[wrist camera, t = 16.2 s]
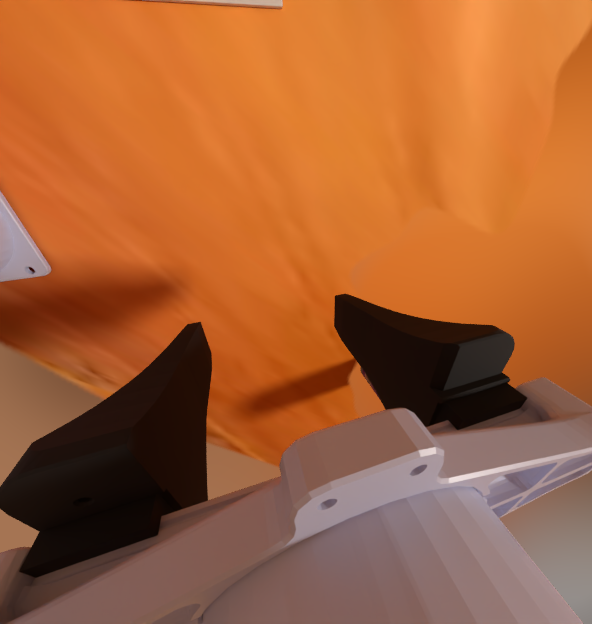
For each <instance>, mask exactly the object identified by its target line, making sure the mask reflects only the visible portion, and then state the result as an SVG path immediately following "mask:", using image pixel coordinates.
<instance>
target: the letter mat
mask: <svg viewBox="0 0 592 624" xmlns="http://www.w3.org/2000/svg"><path fill="white" fill-rule="evenodd" d="M144 1H161V2H177V3H194V4H210V5H227V6H244V7H260V8H277V9H282V7H283V4H282V0H144Z"/></svg>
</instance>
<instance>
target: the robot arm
mask: <svg viewBox="0 0 592 624" xmlns="http://www.w3.org/2000/svg"><path fill="white" fill-rule="evenodd" d="M29 267H31V268H33V269H34V270H35V272H33V271H31V270H30V269H29ZM50 272H51V267H50V265H49V264H48V262H47V261H46V259H45V258H44V256H43V255H42V253H41V252H40V250H39V249H38V247H37V246H36V244H35V243H34V241H33V240H32V238H31V237H30V235H29V234H28V232H27V231H26V229H25V227H24V226H23V224H22V223H21V221H20V220H19V218H18V217H17V215H16V214H15V212H14V211H13V209H12V208H11V206H10V205H9V203H8V202H7V200H6V199H5V197H4V196H3V194H2V193H1V191H0V282H3V281H10V280H17V279H25V278H32V277H39V276H45V275H47V274H49V273H50ZM334 326H335V328H336V330H337V332H338V334H339V336H340V338H341V340H342V341H343V343H344V344H345V345H346V347H347V348H348V350H349V351H350V352H351V354H352V355H353V356H354V358H355V359H356V360H357V362H358V363H359V364H360V366H361V367H362V369H363V370H364V372H365V373H366V375H367V376H368V378H369V380H370V382H371V383H372V385H373V387H374V389H375V390H376V392H377V394H378V396H379V398H380V400H381V402H382V403H383V405H384V407H385V409H386V410H384V411H380V412H377V413H374V414H371V415H367V416H365V417H361V418H358V419H354V420H351V421H348V422H345V423H341V424H338V425H335V426H332V427H328V428H325V429H322V430H319V431H315V432H312V433H310V434H308V435H306V436H304V437H302V438H300V439H298V440H296V441H295V442H294V443H293V444H292V445H291V446H290V447H288V448H287V449H286V450H285V452H284V453H283V455H282V458H281V462H280V471H281V476H280V477H277V478H274V479H271V480H268V481H265V482H262V483H259V484H256V485H253V486H250V487H247V488H244V489H241V490H238V491H235V492H232V493H229V494H226V495H223V496H220V497H217V498H214V499H211V500H208V495H207V466H206V465H207V463H206V417H207V406H208V398H209V390H210V381H211V373H212V358H211V351H210V348H209V345H208V342H207V339H206V336H205V334H204V331H203V328H202V325H201V322H197V323H192V324H188V325H187V326H186V327H185V328H184V329H183V330H182V331H181V332H180V333H179V334H178V336H177V337H176V338H175V339H174V340H173V341H172V342H171V343H170V345H169V346H168V347H167V348H166V349H165V350H164V351H163V352H162V353H161V354H160V355H159V356H158V357H157V358H156V359H155V360H154V361H153V362H152V363H151V364H150V365H149V366H148V367H147V368H146V369H145V370H143V371H142V372H141V373H140V374H139V375H137V376H136V377H135V378H134V379H133V380H131V381H130V382H129V383H128V384H126V385H125V386H123V387H122V388H121V389H119V390H118V391H117V392H115V393H114V394H113V395H111V396H110V397H108V398H107V399H106V400H104V401H102V402H101V403H100V404H98V405H97V406H95V407H93V408H92V409H90V410H89V411H87V412H85V413H84V414H82V415H81V416H79V417H77V418H76V419H74V420H72V421H71V422H69V423H67V424H65V425H63V426H62V427H60V428H58V429H56V430H54V431H53V432H51V433H49V434H47V435H46V436H44V437H42V438H40V439H38V440H36V441H35V442H33V443H32V444H31V445H30V447H29V448H28V449H27V451H26V452H25V453H24V455H23V456H22V458H21V459H20V461H19V462H18V463H17V464H16V466H15V467H14V469H13V470H12V472H11V473H10V474H9V476H8V477H7V478H6V480H5V481H4V482H3V484H2V485H1V487H0V509H1V510H3V511H4V512H5V513H6V514H8V515H9V516H11V517H13V518H15V519H17V520H19V521H21V522H23V523H24V524H27V525H28V526H30V527H32V528H34V529H36V530H38V531H40V532H39V534H38V536H37V538H36V540H35V542H34V544H33V545H32V547H31V548H30V547H20V548H15V549H11V550H8V551H5V552H1V553H0V624H583V622H582V621H581V620H580V619H579V617H578V616H577V615H576V614H575V613H574V612H573V610H572V609H571V608H570V606H569V605H568V604H567V603H566V601H565V600H564V599H563V598H562V596H561V595H560V594H559V593H558V592H557V590H556V589H555V588H554V586H553V585H552V584H551V583H550V581H549V580H548V579H547V578H546V576H545V575H544V574H543V573H542V572H541V570H540V569H539V568H538V567H537V565H536V564H535V563H534V562H533V560H532V559H531V558H530V557H529V555H528V554H527V553H526V552H525V551H524V549H523V548H522V547H521V545H520V544H519V543H518V542H517V540H516V539H515V538H514V537H513V536H512V534H511V533H510V532H509V531H508V529H507V528H506V527H505V525H504V524H503V523H502V522H501V520H500V519H499V518H501V517H502V516H504V515H506V514H508V513H510V512H512V511H514V510H516V509H518V508H519V507H521V506H523V505H525V504H527V503H529V502H531V501H533V500H535V499H536V498H538V497H540V496H542V495H544V494H546V493H548V492H550V491H552V490H554V489H556V488H558V487H560V486H562V485H564V484H566V483H568V482H570V481H573V480H575V479H576V478H579V477H581V476H583V475H585V474H587V473H589V472H590V471H591V470H592V407H591V406H590V405H588V404H586V403H585V402H583V401H582V400H580V399H578V398H577V397H575V396H574V395H572V394H570V393H569V392H567V391H566V390H564V389H562V388H561V387H559V386H558V385H556V384H554V383H553V382H551V381H549V380H548V379H546V378H538V379H535V380H532V381H529V382H526V383H523V384H521V385H519V386H518V387H517V388H513V387H512V386H510V385H509V384H508V382H509V381H510V379H509V377H508V376H506V375H505V374H503V373H502V371H503V369H504V367H505V365H506V364H507V362H508V360H509V358H510V357H511V355H512V352H513V350H514V339H513V337H512V336H511V335H510V334H508V333H506V332H504V331H503V330H501V329H499V328H497V327H495V326H493V325H477V324H476V325H475V324H460V323H450V322H442V321H434V320H429V319H423V318H418V317H414V316H410V315H406V314H401V313H398V312H394V311H392V310H389V309H386V308H383V307H380V306H377V305H374V304H371V303H369V302H367V301H364V300H362V299H359V298H356V297H354V296H351V295H348V294H341V295H336V296H335V318H334Z"/></svg>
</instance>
